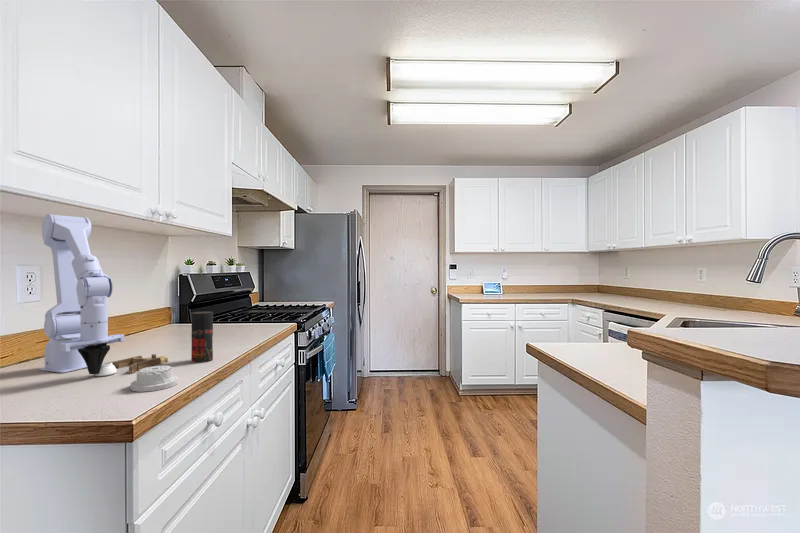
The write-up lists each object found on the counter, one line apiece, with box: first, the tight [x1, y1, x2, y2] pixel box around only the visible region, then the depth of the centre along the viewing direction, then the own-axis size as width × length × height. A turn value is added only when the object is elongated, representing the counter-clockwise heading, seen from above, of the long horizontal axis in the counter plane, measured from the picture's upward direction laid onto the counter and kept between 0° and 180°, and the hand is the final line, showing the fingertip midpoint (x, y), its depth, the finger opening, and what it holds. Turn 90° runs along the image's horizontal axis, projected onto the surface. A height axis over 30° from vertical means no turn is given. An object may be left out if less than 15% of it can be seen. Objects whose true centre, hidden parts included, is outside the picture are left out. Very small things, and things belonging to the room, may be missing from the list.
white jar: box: [94, 361, 118, 377], centre depth 104 cm, size 5×3×5 cm
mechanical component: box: [129, 365, 179, 393], centre depth 95 cm, size 10×4×10 cm
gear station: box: [104, 353, 169, 375], centre depth 114 cm, size 12×15×2 cm
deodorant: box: [191, 311, 214, 364], centre depth 120 cm, size 6×6×15 cm
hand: (94, 373), depth 101 cm, fingers closed
